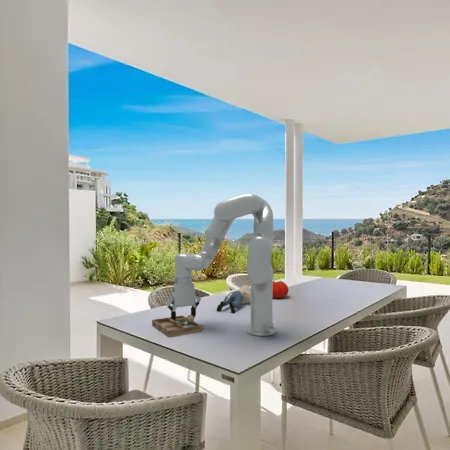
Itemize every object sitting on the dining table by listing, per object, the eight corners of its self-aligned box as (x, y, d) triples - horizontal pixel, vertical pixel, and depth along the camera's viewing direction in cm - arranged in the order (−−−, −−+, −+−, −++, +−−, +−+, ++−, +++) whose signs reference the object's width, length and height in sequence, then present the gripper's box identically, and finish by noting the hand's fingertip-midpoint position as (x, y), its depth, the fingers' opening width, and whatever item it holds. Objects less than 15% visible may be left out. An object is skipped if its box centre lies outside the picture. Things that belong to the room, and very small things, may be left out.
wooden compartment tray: (201, 331, 165) (201, 325, 165) (169, 337, 157) (168, 331, 157) (182, 320, 183) (182, 315, 183) (152, 325, 175) (152, 319, 175)
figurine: (171, 326, 176) (190, 325, 165) (170, 316, 177) (189, 315, 166) (177, 324, 179) (197, 324, 168) (176, 315, 179) (195, 313, 169)
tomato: (285, 294, 245) (285, 279, 245) (290, 300, 229) (290, 283, 228) (263, 294, 244) (263, 279, 244) (266, 300, 228) (266, 283, 228)
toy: (246, 319, 193) (266, 302, 220) (245, 299, 192) (266, 285, 219) (206, 314, 204) (230, 298, 230) (205, 295, 203) (230, 282, 230)
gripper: (168, 283, 164) (169, 322, 164) (204, 280, 173) (204, 317, 173) (162, 281, 170) (162, 318, 171) (196, 278, 179) (197, 313, 180)
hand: (183, 318), depth 172 cm, fingers open, 9 cm apart
